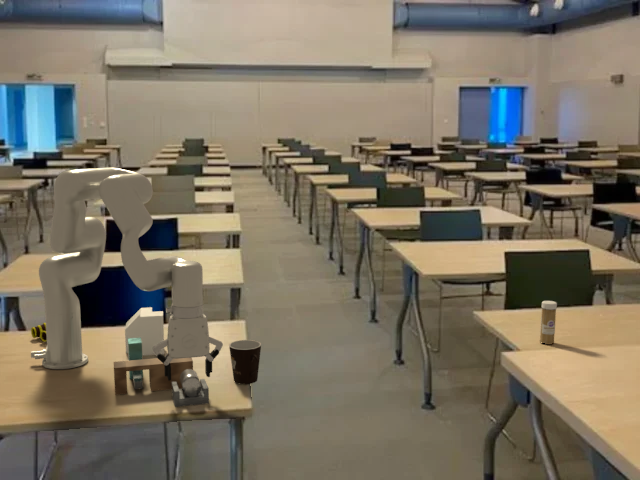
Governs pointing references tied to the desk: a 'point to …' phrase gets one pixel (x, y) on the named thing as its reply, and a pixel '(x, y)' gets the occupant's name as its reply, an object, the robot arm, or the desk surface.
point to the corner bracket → (146, 329)
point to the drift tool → (135, 354)
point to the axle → (190, 382)
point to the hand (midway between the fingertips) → (188, 377)
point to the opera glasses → (39, 332)
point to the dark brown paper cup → (245, 360)
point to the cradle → (185, 400)
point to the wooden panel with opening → (150, 373)
